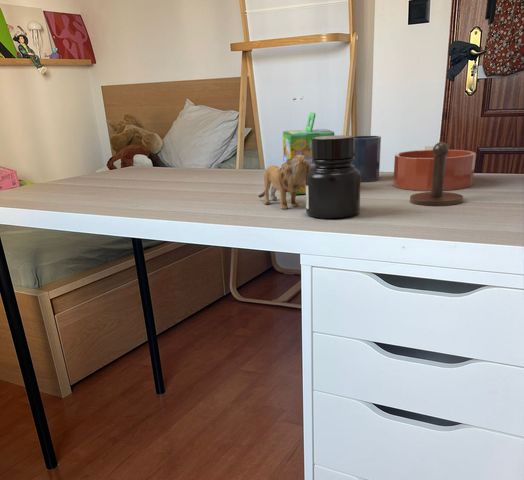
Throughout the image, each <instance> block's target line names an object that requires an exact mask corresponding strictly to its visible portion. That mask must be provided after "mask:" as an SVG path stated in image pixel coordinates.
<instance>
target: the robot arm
mask: <svg viewBox="0 0 524 480" xmlns="http://www.w3.org/2000/svg"><path fill="white" fill-rule="evenodd" d="M497 2H498V1H497V0H486V5H485V6H486V7H485V14H484V20H485V21H487V25H488V26H490V25H492V24H494V23H495V17H496V9H497Z"/></svg>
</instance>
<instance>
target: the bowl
mask: <svg viewBox="0 0 524 480" xmlns="http://www.w3.org/2000/svg"><path fill="white" fill-rule="evenodd" d="M434 146H435V145H432V146H430V145H429V146H427V145H426V146H424V149H419V150H418V149H417V150H408V151H402V152H398V153H397V152H396V153H395V154H394V162H393V163H394V165H393V180H392V181H393V183H392V185H393V187H395V188H397V189H401V190H406V191H407V190H408V191H420V192H431V185H432V173H433V162H434V155H433V147H434ZM476 158H477V153H476V152H475V151H472V150H463V149H449V151H448V154H447V155H446V163H445V173H444V184H443V192H445V191H454V190H455V191H456V190H461V189H467V188H470V187H471V186H473V183H474V175H475V166H476Z"/></svg>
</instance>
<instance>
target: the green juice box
mask: <svg viewBox="0 0 524 480" xmlns="http://www.w3.org/2000/svg"><path fill="white" fill-rule="evenodd" d="M315 119H316V112H309V114H308V118H307V122H306V126H305V129H302V130H301V129H300V130H299V129H298V130H297V129H295V130H284V131H282V155H283V156H282V157H283V162H282V164H283V163H285V162H286V161H287V160H288V159H290V158H292V157H294V156H296V155H302V156H305V159H306V162H307V163H308V164H309V165H310V166H312V167H313V166H315V163H313V162H312V159H313V158H312V138H314V137H321V136H336V135H335V131H333V130H331V129H327V128H326V129H325V128H319V129H314V124H315ZM288 193H289V194H290V195H291V192H288ZM296 195H306V182H305V183H304V184H303V185H302V186H301V187H300V190H298V191H297V192H296Z"/></svg>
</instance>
